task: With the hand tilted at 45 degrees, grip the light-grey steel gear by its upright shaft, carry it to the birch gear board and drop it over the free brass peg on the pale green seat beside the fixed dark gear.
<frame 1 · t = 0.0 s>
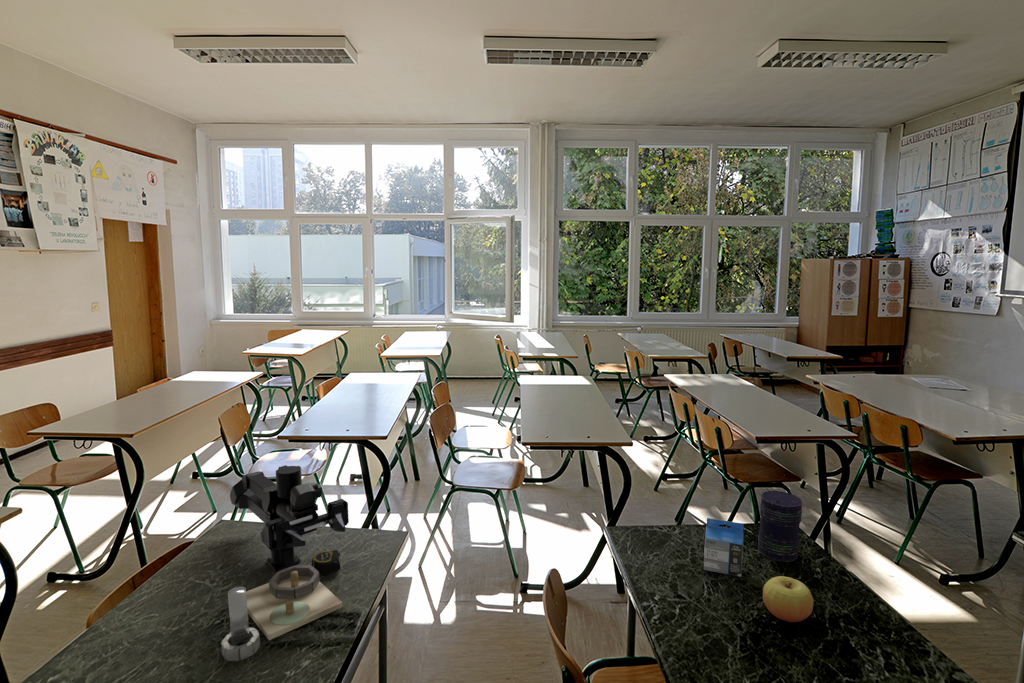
hand: (324, 536, 123), 17 cm above the table, fingers open, 9 cm apart
tape measure: (329, 570, 141), on the table
apple: (786, 615, 122), on the table
storage jar: (777, 552, 149), on the table
gear board: (289, 603, 126), on the table
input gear: (241, 649, 111), on the table
label tape box: (722, 570, 140), on the table
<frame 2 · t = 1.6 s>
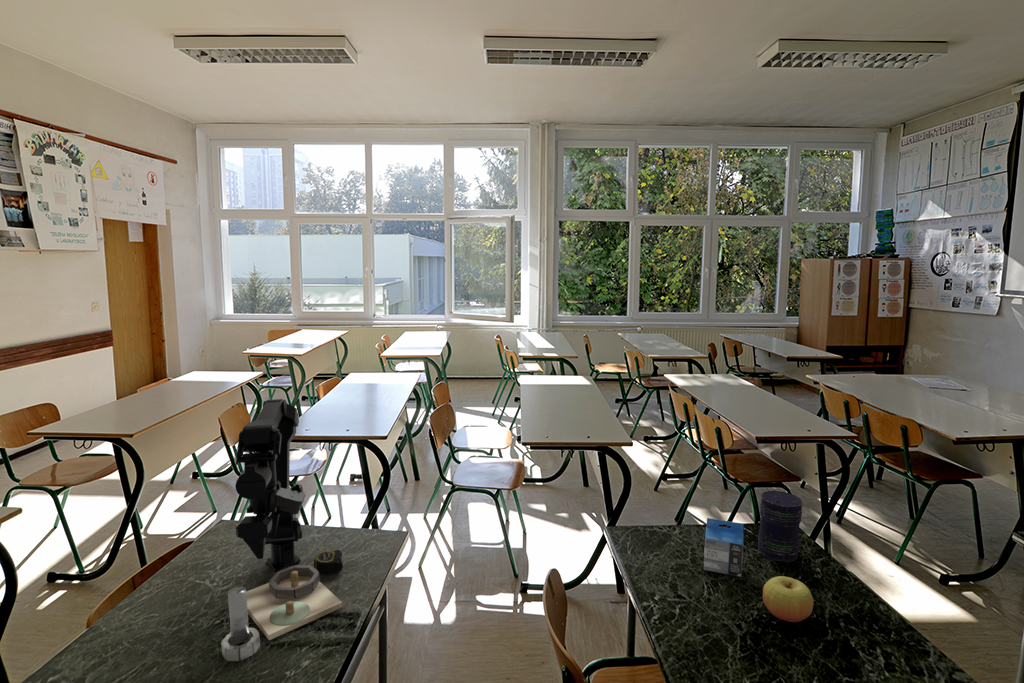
hand: (266, 548, 125), 13 cm above the table, fingers open, 9 cm apart
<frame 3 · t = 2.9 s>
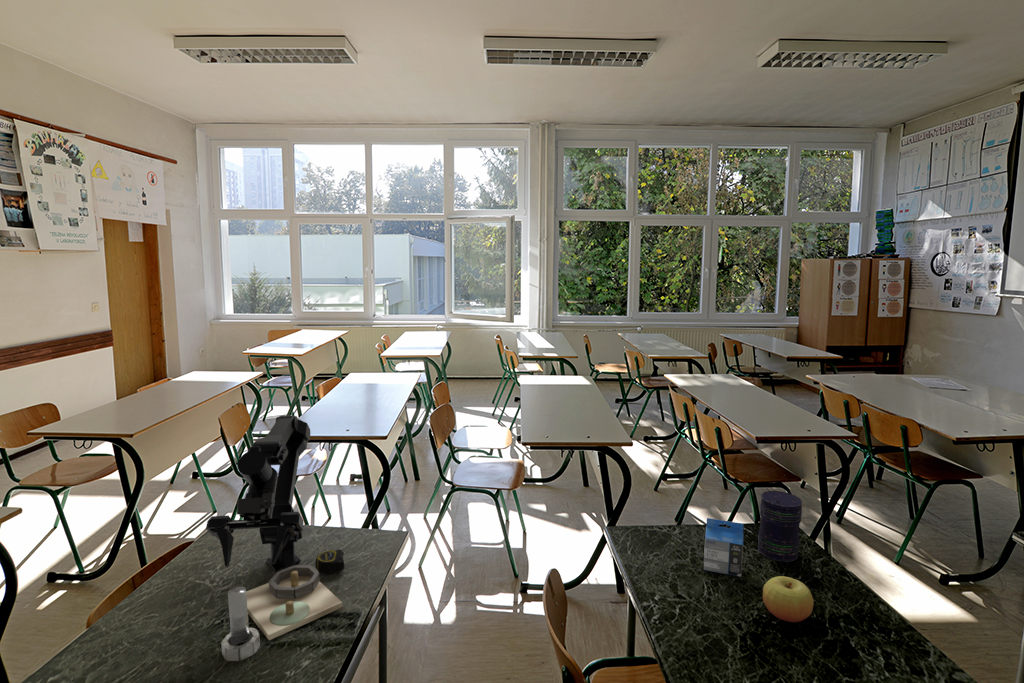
hand: (250, 564, 117), 13 cm above the table, fingers open, 9 cm apart
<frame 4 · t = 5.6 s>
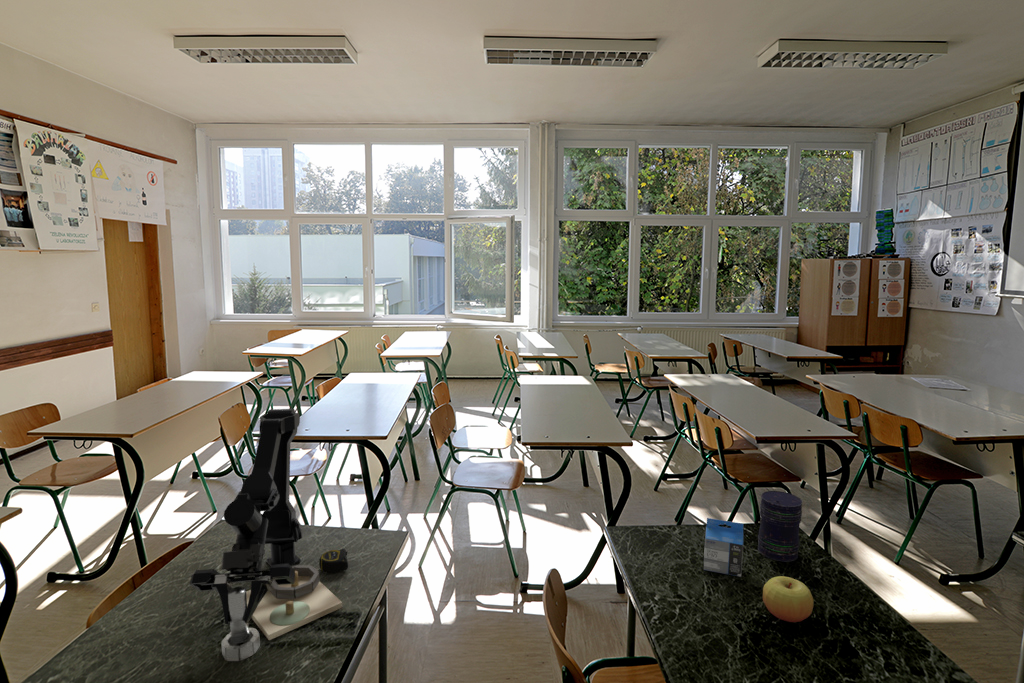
hand: (236, 623, 109), 7 cm above the table, fingers closed on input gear, 3 cm apart
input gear: (241, 649, 111), on the table, touching gripper
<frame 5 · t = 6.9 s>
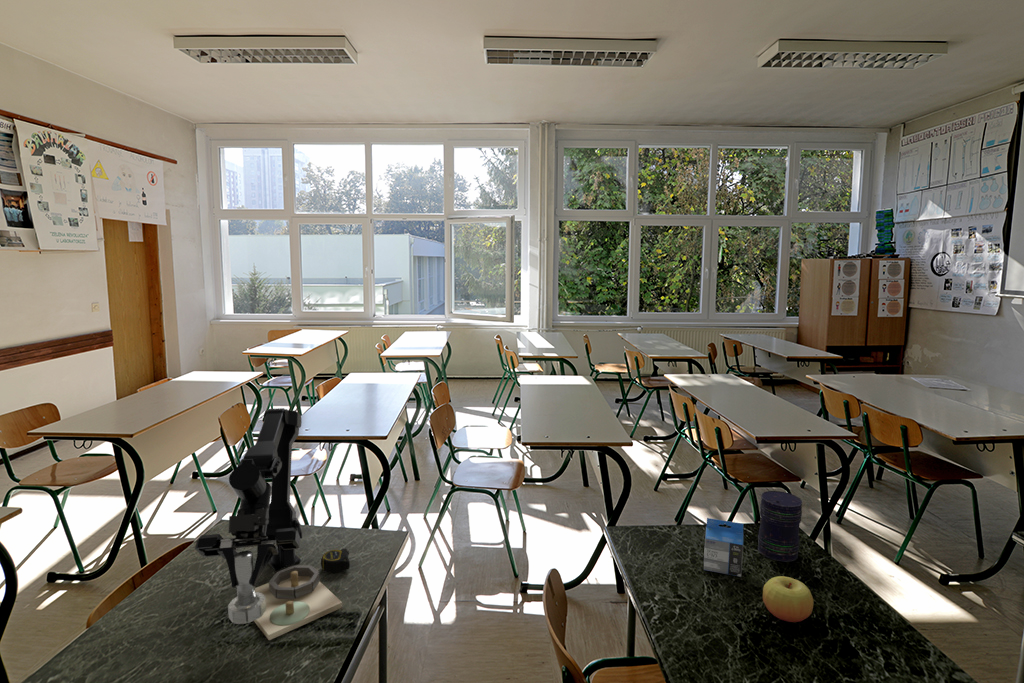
hand: (243, 586, 110), 13 cm above the table, fingers closed on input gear, 3 cm apart
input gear: (247, 613, 112), point 7 cm above the table, touching gripper
when the fingers open (11 cm above the table, at t = 8.5 s): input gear drops 3 cm, resting on gear board.
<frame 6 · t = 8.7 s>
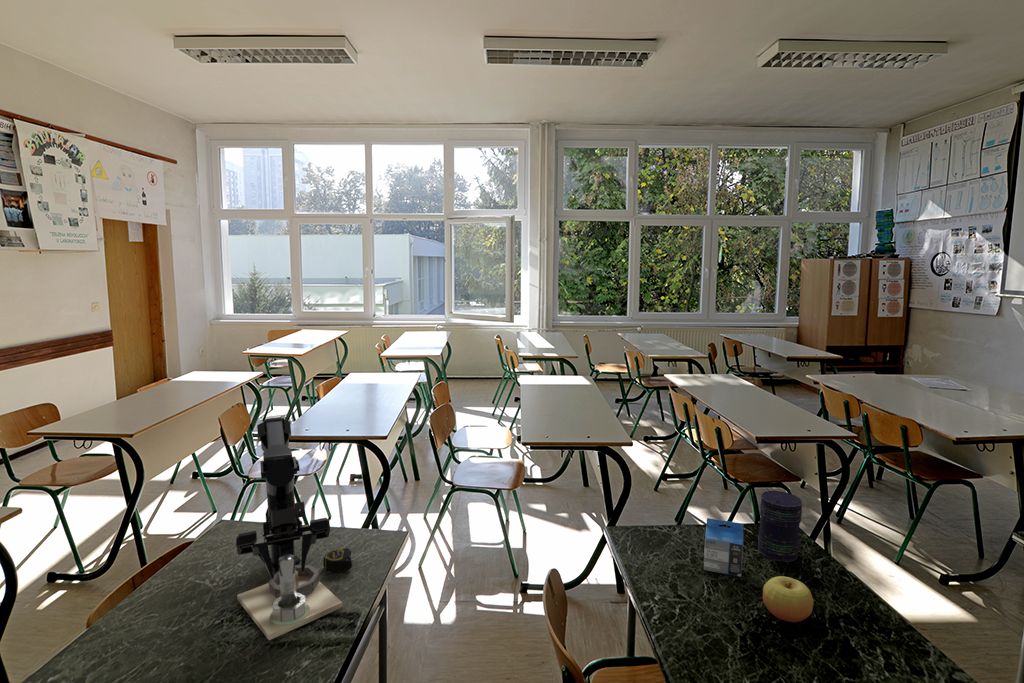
hand: (287, 575, 118), 11 cm above the table, fingers open, 6 cm apart
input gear: (289, 612, 121), point 1 cm above the table, touching gear board
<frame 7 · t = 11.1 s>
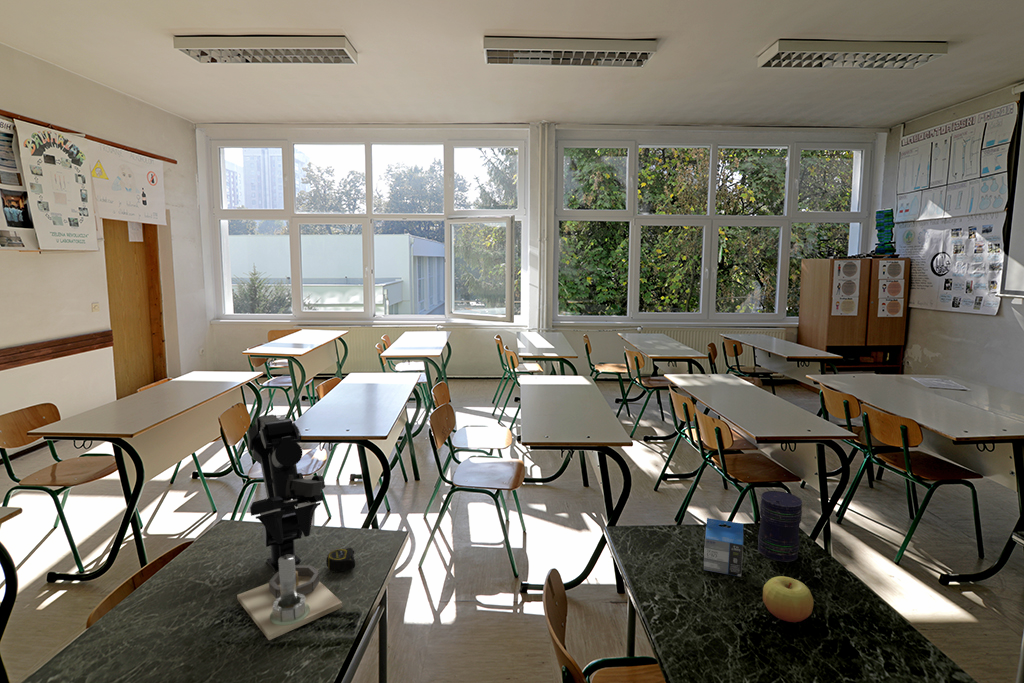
hand: (294, 539, 129), 13 cm above the table, fingers open, 9 cm apart
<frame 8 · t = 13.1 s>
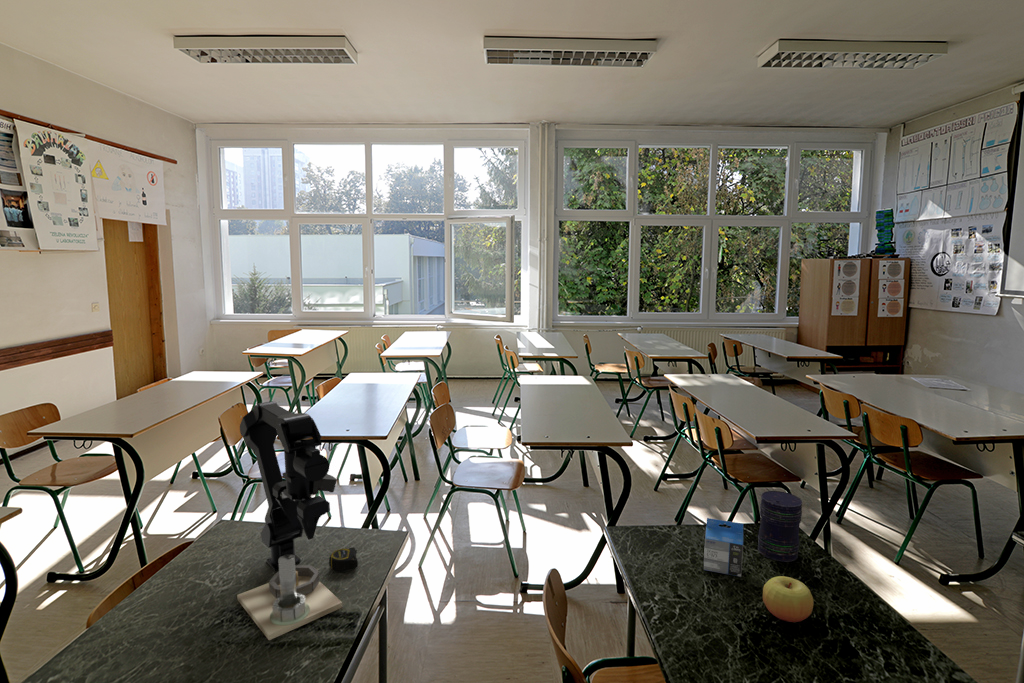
hand: (302, 531, 132), 13 cm above the table, fingers open, 9 cm apart
at the end: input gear 0.1 cm from the target spot, point 1.4 cm above the table; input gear tilted 0°; the gripper is holding nothing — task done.
